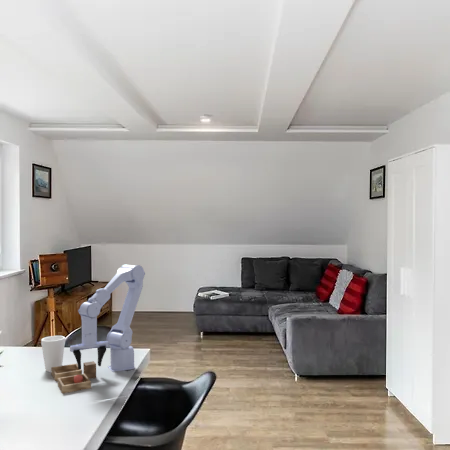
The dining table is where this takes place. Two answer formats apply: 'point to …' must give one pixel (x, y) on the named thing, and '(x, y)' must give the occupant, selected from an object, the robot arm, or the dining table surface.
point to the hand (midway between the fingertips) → (89, 367)
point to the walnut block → (90, 369)
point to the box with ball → (73, 384)
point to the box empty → (65, 371)
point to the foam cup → (53, 351)
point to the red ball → (78, 379)
